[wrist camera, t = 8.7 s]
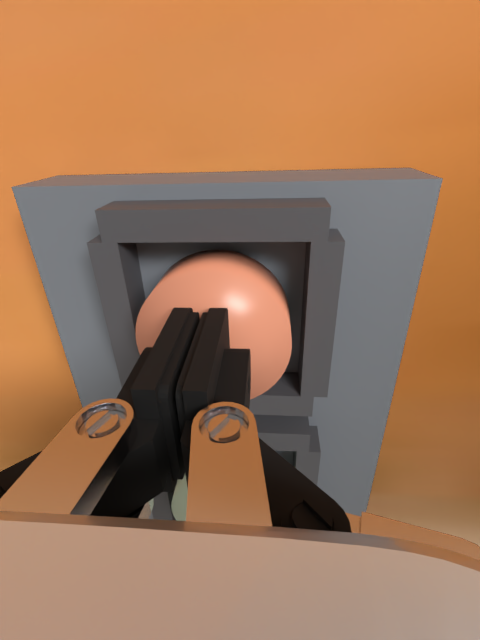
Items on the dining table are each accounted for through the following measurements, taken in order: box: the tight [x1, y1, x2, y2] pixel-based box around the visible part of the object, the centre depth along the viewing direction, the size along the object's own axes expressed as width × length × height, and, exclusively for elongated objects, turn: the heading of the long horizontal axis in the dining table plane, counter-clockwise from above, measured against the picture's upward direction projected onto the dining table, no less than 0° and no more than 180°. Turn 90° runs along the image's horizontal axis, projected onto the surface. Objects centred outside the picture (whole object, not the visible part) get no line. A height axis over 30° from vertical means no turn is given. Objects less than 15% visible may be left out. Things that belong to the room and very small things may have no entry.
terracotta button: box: [136, 250, 292, 399], centre depth 12 cm, size 5×5×2 cm
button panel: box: [12, 168, 442, 521], centre depth 19 cm, size 14×27×4 cm, turn 2°
